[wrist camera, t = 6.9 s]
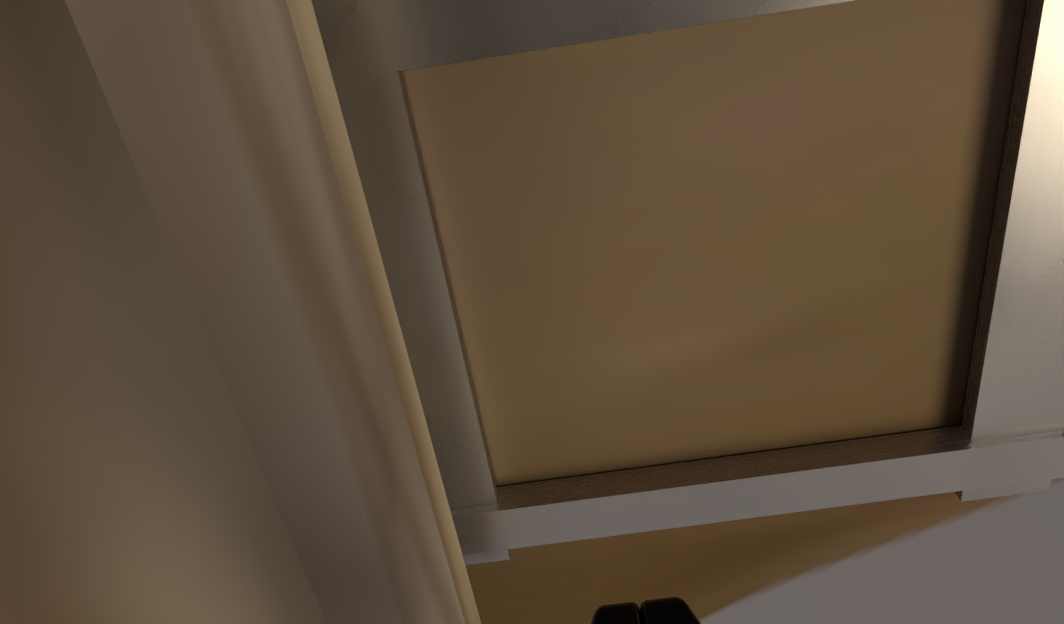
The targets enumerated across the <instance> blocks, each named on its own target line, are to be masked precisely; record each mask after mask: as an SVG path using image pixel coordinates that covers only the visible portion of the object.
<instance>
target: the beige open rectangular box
mask: <svg viewBox="0 0 1064 624" xmlns="http://www.w3.org/2000/svg"><path fill="white" fill-rule="evenodd" d="M0 624H481V621H480V618H479V614H478V610H477V607H476V603H475V599H474V596H473V592H472V588H471V585H470V581H469V577H468V574H467V570H466V566H465V563H464V559H463V555H462V552H461V548H460V544H459V541H458V537H457V533H456V530H455V526H454V522H453V519H452V515H451V511H450V508H449V504H448V500H447V497H446V493H445V489H444V486H443V482H442V478H441V475H440V471H439V467H438V463H437V460H436V456H435V452H434V449H433V445H432V441H431V438H430V434H429V430H428V427H427V423H426V419H425V416H424V412H423V408H422V405H421V401H420V397H419V394H418V390H417V386H416V383H415V379H414V375H413V372H412V368H411V364H410V361H409V357H408V353H407V350H406V346H405V342H404V339H403V335H402V331H401V328H400V324H399V320H398V317H397V313H396V309H395V306H394V302H393V298H392V295H391V291H390V287H389V284H388V280H387V276H386V273H385V269H384V265H383V262H382V258H381V254H380V251H379V247H378V243H377V240H376V236H375V232H374V229H373V225H372V221H371V218H370V214H369V210H368V207H367V203H366V199H365V196H364V192H363V188H362V185H361V181H360V177H359V174H358V170H357V166H356V163H355V159H354V155H353V152H352V148H351V144H350V141H349V137H348V133H347V130H346V126H345V122H344V119H343V115H342V111H341V108H340V104H339V100H338V97H337V93H336V89H335V86H334V82H333V78H332V75H331V71H330V67H329V63H328V60H327V56H326V52H325V49H324V45H323V41H322V38H321V34H320V30H319V27H318V23H317V19H316V16H315V12H314V8H313V5H312V1H311V0H0Z"/></svg>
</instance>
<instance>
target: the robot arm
mask: <svg viewBox="0 0 1064 624" xmlns="http://www.w3.org/2000/svg"><path fill="white" fill-rule="evenodd" d="M591 624H701V623H700V622H699V620H698V619H697V617H696V616H695V614H694V613H693V612H692V610H691V609H690V607H689V606H688V605H687V603H686V602H685V601H684V600H683V599H681V598H679V597H669V598H661V599H652V600H646V601H644V602H643V603H642V604H641V606H640V609H639V607H638V605H637V604H635V603H633V602H627V603H619V604H610V605H602V606H600V607H599V608H597V610H596V611H595V613H594V616H593V619H592V622H591Z"/></svg>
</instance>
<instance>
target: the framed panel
mask: <svg viewBox="0 0 1064 624" xmlns="http://www.w3.org/2000/svg"><path fill="white" fill-rule="evenodd" d="M311 1H312V5H313V8H314V12H315V16H316V19H317V23H318V27H319V30H320V34H321V38H322V41H323V45H324V49H325V52H326V56H327V60H328V63H329V67H330V71H331V75H332V78H333V82H334V86H335V89H336V93H337V97H338V100H339V104H340V108H341V111H342V115H343V119H344V122H345V126H346V130H347V133H348V137H349V141H350V144H351V148H352V152H353V155H354V159H355V163H356V166H357V170H358V174H359V177H360V181H361V185H362V188H363V192H364V196H365V199H366V203H367V207H368V210H369V214H370V218H371V221H372V225H373V229H374V232H375V236H376V240H377V243H378V247H379V251H380V254H381V258H382V262H383V265H384V269H385V273H386V276H387V280H388V284H389V287H390V291H391V295H392V298H393V302H394V306H395V309H396V313H397V317H398V320H399V324H400V328H401V331H402V335H403V339H404V342H405V346H406V350H407V353H408V357H409V361H410V364H411V368H412V372H413V375H414V379H415V383H416V386H417V390H418V394H419V397H420V401H421V405H422V408H423V412H424V416H425V419H426V423H427V427H428V430H429V434H430V438H431V441H432V445H433V449H434V452H435V456H436V460H437V463H438V467H439V471H440V475H441V478H442V482H443V486H444V489H445V493H446V497H447V500H448V504H449V508H450V511H451V515H452V519H453V522H454V526H455V530H456V533H457V537H458V541H459V544H460V548H461V552H462V555H463V559H464V563H465V565H471V564H479V563H487V562H495V561H502V560H510V549H514V548H522V547H529V546H537V545H545V544H553V543H560V542H568V541H576V540H584V539H591V538H599V537H607V536H615V535H622V534H630V533H638V532H646V531H653V530H661V529H669V528H677V527H684V526H692V525H700V524H708V523H715V522H723V521H731V520H739V519H746V518H754V517H762V516H770V515H777V514H785V513H793V512H801V511H808V510H816V509H824V508H832V507H839V506H847V505H855V504H863V503H870V502H878V501H886V500H894V499H901V498H909V497H917V496H925V495H932V494H940V493H948V492H955V493H956V494H957V496H958V498H959V499H960V501H969V500H977V499H985V498H993V497H1000V496H1008V495H1016V494H1024V493H1031V492H1039V491H1047V490H1049V489H1050V485H1051V481H1052V479H1056V478H1064V0H1027V6H1026V12H1025V19H1024V25H1023V32H1022V38H1021V44H1020V51H1019V57H1018V64H1017V70H1016V76H1015V83H1014V89H1013V96H1012V102H1011V108H1010V115H1009V121H1008V128H1007V134H1006V140H1005V147H1004V153H1003V160H1002V166H1001V172H1000V179H999V185H998V192H997V198H996V204H995V211H994V217H993V224H992V230H991V236H990V243H989V249H988V256H987V262H986V268H985V275H984V281H983V288H982V294H981V300H980V307H979V313H978V320H977V326H976V332H975V339H974V345H973V352H972V358H971V364H970V371H969V377H968V384H967V390H966V396H965V403H964V409H963V416H962V422H961V426H954V427H947V428H939V429H932V430H924V431H917V432H909V433H901V434H894V435H886V436H879V437H871V438H864V439H856V440H849V441H841V442H833V443H826V444H818V445H811V446H803V447H796V448H788V449H781V450H773V451H766V452H758V453H750V454H743V455H735V456H728V457H720V458H713V459H705V460H698V461H690V462H683V463H675V464H667V465H660V466H652V467H645V468H637V469H630V470H622V471H615V472H607V473H599V474H592V475H584V476H577V477H569V478H562V479H554V480H547V481H539V482H532V483H524V484H516V485H509V486H501V487H497V485H496V481H495V477H494V472H493V468H492V464H491V459H490V455H489V450H488V446H487V442H486V437H485V433H484V428H483V424H482V420H481V415H480V411H479V406H478V402H477V398H476V393H475V389H474V384H473V380H472V376H471V371H470V367H469V363H468V358H467V354H466V349H465V345H464V341H463V336H462V332H461V327H460V323H459V319H458V314H457V310H456V305H455V301H454V297H453V292H452V288H451V284H450V279H449V275H448V270H447V266H446V262H445V257H444V253H443V248H442V244H441V240H440V235H439V231H438V226H437V222H436V218H435V213H434V209H433V204H432V200H431V196H430V191H429V187H428V183H427V178H426V174H425V169H424V165H423V161H422V156H421V152H420V147H419V143H418V139H417V134H416V130H415V125H414V121H413V117H412V112H411V108H410V104H409V99H408V95H407V90H406V86H405V82H404V77H403V73H402V71H404V70H410V69H417V68H423V67H430V66H436V65H443V64H449V63H455V62H462V61H468V60H475V59H481V58H488V57H494V56H500V55H507V54H513V53H520V52H526V51H533V50H539V49H545V48H552V47H558V46H565V45H571V44H578V43H584V42H590V41H597V40H603V39H610V38H616V37H623V36H629V35H636V34H642V33H648V32H655V31H661V30H668V29H674V28H681V27H687V26H693V25H700V24H706V23H713V22H719V21H726V20H732V19H738V18H745V17H751V16H758V15H764V14H771V13H777V12H783V11H790V10H796V9H803V8H809V7H816V6H822V5H829V4H835V3H841V2H848V1H854V0H311Z"/></svg>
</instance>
